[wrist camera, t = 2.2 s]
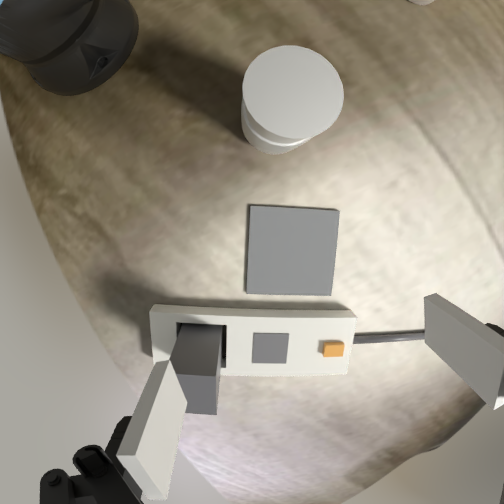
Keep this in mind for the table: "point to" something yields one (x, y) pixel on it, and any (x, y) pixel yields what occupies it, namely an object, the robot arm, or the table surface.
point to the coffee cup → (421, 2)
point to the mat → (291, 251)
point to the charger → (198, 365)
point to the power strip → (270, 338)
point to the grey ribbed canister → (289, 98)
